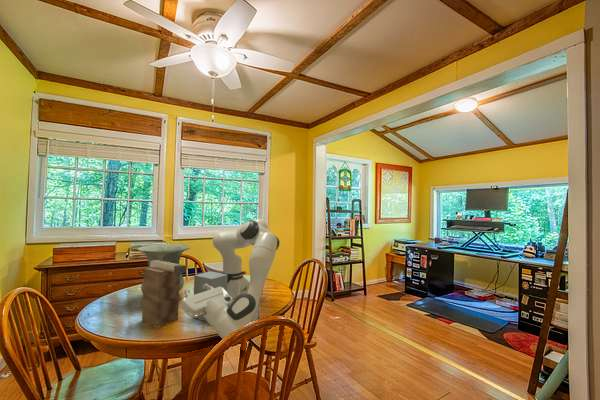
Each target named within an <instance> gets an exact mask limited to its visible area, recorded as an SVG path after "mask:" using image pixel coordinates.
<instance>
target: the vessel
mask: <svg viewBox="0 0 600 400" xmlns="http://www.w3.org/2000/svg"><path fill="white" fill-rule="evenodd" d="M190 249H191V245H187V244H181V243H164V244H163V243H160V244H150V245H142V246H139V247H137V248H136V250H137V251H138V252H140V253H143V254H144V255H145V256H146V259H147V263H148V264H147V268H151V267H150V262H151V261H153V260H160V261H165V262H170V263H175V264H180V262H181V256H182V254H183V253H184V252H185V251H188V250H190ZM143 284H144V278H143V279H142V282H141V287H140V290H141V293H142V294H143ZM184 284H185V280H184V276H183V273H181V274H180V278H179V292H180V291H181V290H182V289H183V288H184ZM181 298H182V297H181V295H180V294H179V301H180V299H181Z"/></svg>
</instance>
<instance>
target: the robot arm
mask: <svg viewBox="0 0 600 400" xmlns="http://www.w3.org/2000/svg"><path fill="white" fill-rule="evenodd" d="M251 245H252V246H253V247H252V249H251V252H250V254H249V261H248V268H249V277H250V279H249V280H250V281H249V280H248V279H247V278H246V277H244V275H247V271H245V270H243V269H242V268H243V262H242V261H243V260H242V258H241V256H239V255H238V254H236V251H235V250H237V249H238V250H239V249H244V248H247V247H250V246H251ZM212 246H213V247H214V249H216V250H217V251H218V252H219V253H220V256H221V258H222V272H221V274H226V275H228V276H227V291H226V290H225V289H224V288H223V287H217V288H213V287H211V286H209V285H208V284H207V283H206V284H203V288H204V289H207V290H208V291H205V292H202V293H199V294H195V295H194V294H193V295H191V294H190V293H191V290H189V288H187V289H184V290H183V294H184V298H182V300H181V302H180V305H179V306H180V308H181V310H182V311H183V312H184V313H185V314H186V315H187V316H189V317H190V318H194V317H195V319H197V317H199V316H202V315H203V316H204V318H205V319H206V320H207V321H208V322H207V323H208V324H209V325H210V326H212V327H213V328H214V330H215V332H216V334H218V336H219V337H220V338H221V339H222V340H223V338H225V337H226V336H228V335H229V334H231V333H233V332H234V331H236V330H238V329H240V328H241V327H243V326H245V325H247V324H249V323H250V322H253V321H256V320H258V319H259V320H260V311H259V307H260V302H261V298H262V294H263V289H264V286H265V283H266V281H267V277H269V276H268V275H269V273H270V270H271V268H272V265H273V262H274V260H275V258H276V257H275V256H276V253H277V251H278V249H279V247H280V239H279V238H278V236H276V234H274V233H273V232H272V231H270V229H269V227H268V223H267V222H266V221H265V219H262V218H255V219H250V220H247V221H245V222H244V223H243V224H242V225H240V226H239V227H238V228H237V229H236V230H225V231H224V230H223V231H220V232H216V233H215V234H214V235H213V237H212Z"/></svg>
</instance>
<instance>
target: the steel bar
mask: <svg viewBox="0 0 600 400" xmlns="http://www.w3.org/2000/svg"><path fill="white" fill-rule="evenodd" d="M150 267H152V268H156V269H161V270H165V271H170V272H174V273H179V274H186V272H187V265H186V264H185V265H184V264H180V263H179V264H175V263H170V262H165V261H160V260H153V261H151V262H150Z"/></svg>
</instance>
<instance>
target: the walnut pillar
mask: <svg viewBox="0 0 600 400" xmlns="http://www.w3.org/2000/svg"><path fill="white" fill-rule="evenodd" d="M179 278H180V274H179V273H174V272H170V271H165V270H161V269H156V268H152V267H151V268H148V267H146V268H144V269H143V279H144V284H143V293H142V307H141V308H142V313H141V322H143V323H145V322H146V323H145V324H148V325H150V324H151V325H150V326H152V325H153V327H155V326H156V327H155V328H157V327H158V328H160V327H162V325H163V326H165V325H164V324H166V325H168V324H170V322H171V323H173V322H176V321H178V320H179V302H180V300H179V295H180V291H179ZM175 320H176V321H175ZM172 321H173V322H172ZM167 323H168V324H167ZM159 326H160V327H159Z"/></svg>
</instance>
